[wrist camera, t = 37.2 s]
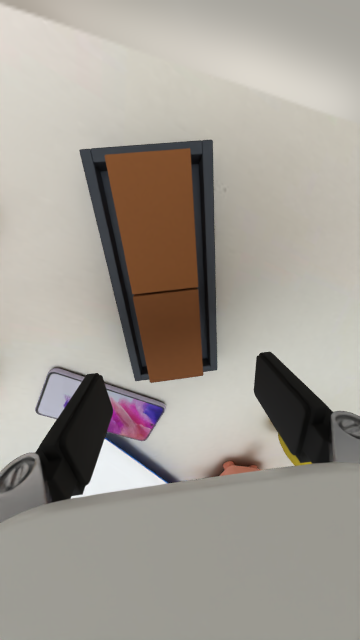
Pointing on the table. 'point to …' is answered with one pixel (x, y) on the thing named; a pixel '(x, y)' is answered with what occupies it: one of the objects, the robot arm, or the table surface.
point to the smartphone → (128, 408)
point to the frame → (115, 253)
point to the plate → (118, 472)
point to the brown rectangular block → (155, 218)
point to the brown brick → (170, 333)
